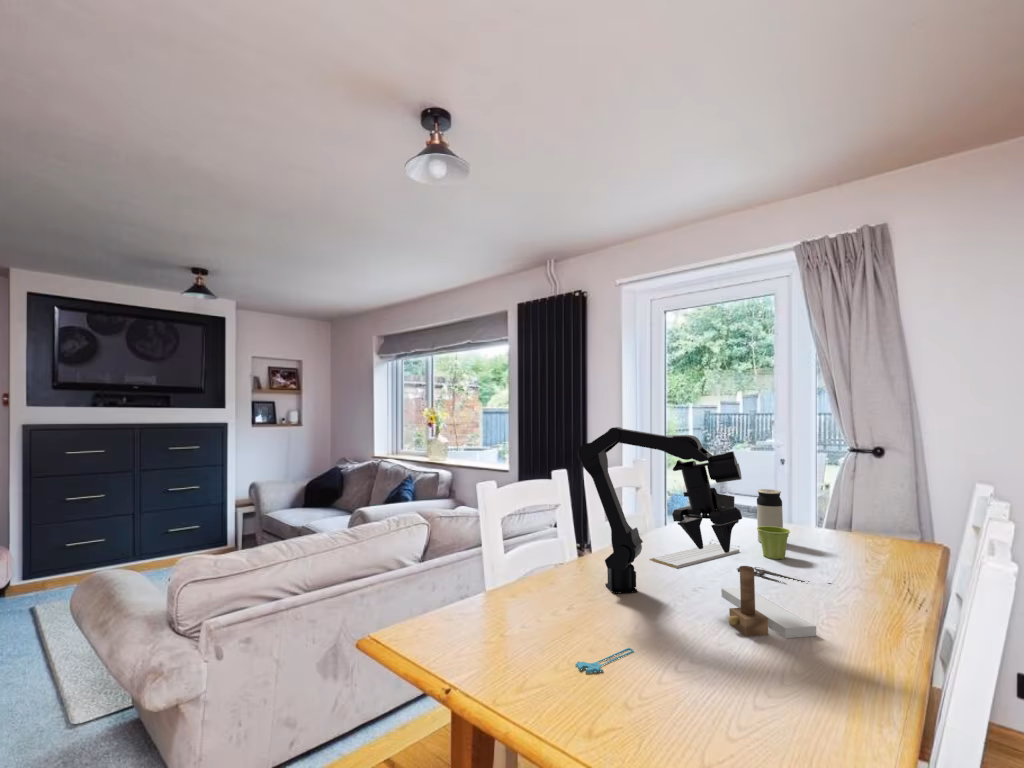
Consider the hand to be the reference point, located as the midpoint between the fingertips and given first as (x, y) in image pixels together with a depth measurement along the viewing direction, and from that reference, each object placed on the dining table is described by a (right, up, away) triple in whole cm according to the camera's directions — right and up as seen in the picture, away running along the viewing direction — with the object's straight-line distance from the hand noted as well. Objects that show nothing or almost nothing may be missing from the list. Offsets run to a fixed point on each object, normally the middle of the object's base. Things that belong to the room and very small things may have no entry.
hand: (713, 550), depth 125 cm
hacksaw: (+27, -14, +18) cm, 36 cm away
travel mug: (+42, -15, +56) cm, 72 cm away
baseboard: (+10, -16, +41) cm, 45 cm away
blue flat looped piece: (-31, -12, -28) cm, 43 cm away
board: (+9, -12, -7) cm, 17 cm away
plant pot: (+34, -15, +39) cm, 54 cm away
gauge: (+2, -12, -15) cm, 19 cm away
